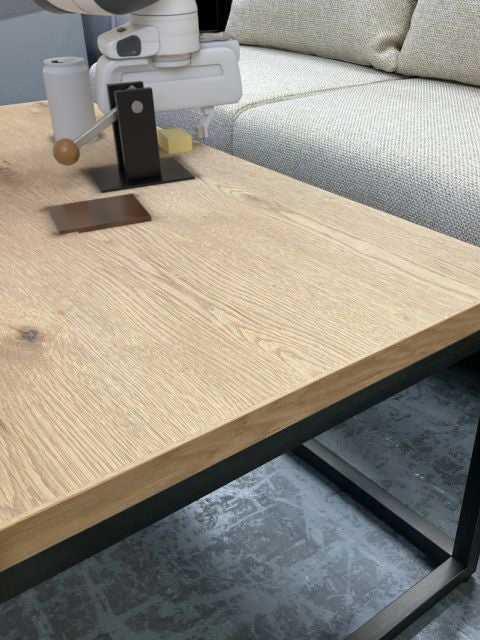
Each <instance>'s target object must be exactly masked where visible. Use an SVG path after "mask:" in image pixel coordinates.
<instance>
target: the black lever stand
mask: <svg viewBox="0 0 480 640" xmlns="http://www.w3.org/2000/svg"><path fill="white" fill-rule="evenodd" d="M131 85H132V86H134V87H135V88H136V89H127V88H128V87H130V86H131ZM106 86H107V93H108V100H109V107H110V111H111V110H112V109H113V108H115V107H116V109H117V116H118V119H117V120H116V121H115V122H113V123H112V124H111V127H112V134H113V141H114V150H115V155H116V163H117V165H113V166H104V167H98V168H90V169H89V168H88V169H86V170H85V171H86V174H87V175H88V177H89V178H90V180H91V181H92V183H94V185H95V187H96V188H97V189H98V190H99V192H100V193H101V194H105V193H111V192H120V191H124V190H125V191H126V190H131V189H138V188H145V187H152V186H157V185H165V184H172V183H179V182H185V181H192V180H195V175H193V174H192V173H191V172H190V171H189V170H188V169H186V167H184V166H183V165H182V163H180V162H179V161H178V160H177V159H175V158H174V157H169V158H163V159H162V158H161V159H160V151H159V149H160V148H159V138H158V128H157V122H156V120H157V119H156V113H155V110H154V101H153V92H152V88H150V87H146V88H144V85H143V82H142V81H135V82H125V83H115V84H107V85H106ZM126 89H127V90H126ZM114 98H115V100H114Z"/></svg>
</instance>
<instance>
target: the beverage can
mask: <svg viewBox="0 0 480 640" xmlns="http://www.w3.org/2000/svg"><path fill="white" fill-rule="evenodd" d="M42 63H43V64H44V66H43V68H42V78H43V82H44V88H45V93H46V99H47V106H48V110H49V115H50V122H51V126H52V132H53V137H54V142H55V143H56V141H58V140H59V139H62V138H68V139H71V140H73V139H75V138H76V137H77V136H79V135H80V134H81V133H83V132H84V131H85V130H86V129H88V128H89V127H90V126H92V125H93V124H94V123H95V122H97V117H96V111H95V104H94V98H93V97H94V96H93V92H92V91H93V90H92V84H91V76H90V72H89V66H88V65H87V64H86V63H85V58H84V57H80V56H56V57H50V58H46V59H44V60H43V62H42ZM99 138H100V137H99V134H98V135H97V136H95V137H94V138H93V139H91V140H90V141H89V142H88V143H86V144H85V145H87V144H92V143H94V142H96V141H98V140H99Z"/></svg>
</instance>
